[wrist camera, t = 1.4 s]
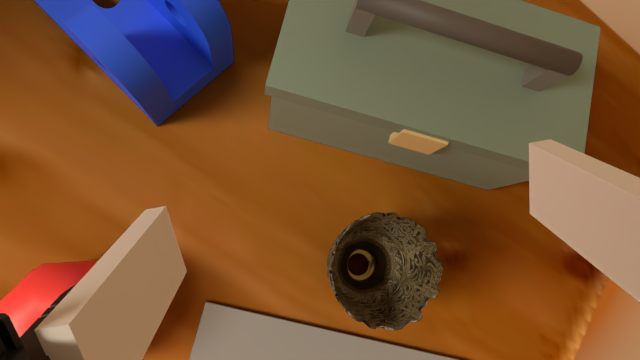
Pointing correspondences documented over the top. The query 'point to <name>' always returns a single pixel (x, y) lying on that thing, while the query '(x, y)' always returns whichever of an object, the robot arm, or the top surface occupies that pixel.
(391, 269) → the cup
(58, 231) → the top surface
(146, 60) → the bracket
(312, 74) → the toolbox
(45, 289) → the apple
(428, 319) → the top surface
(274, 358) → the rubber mat
